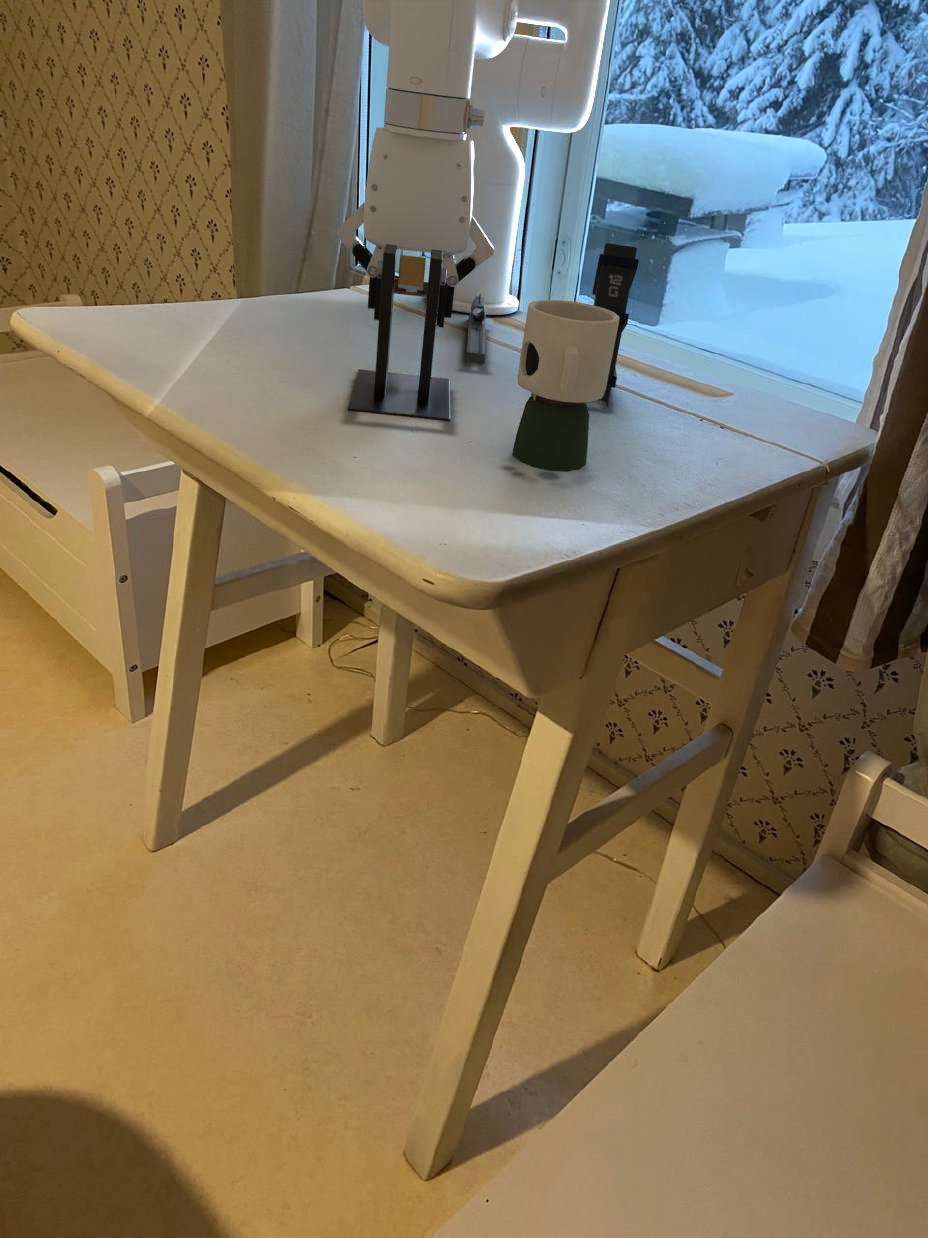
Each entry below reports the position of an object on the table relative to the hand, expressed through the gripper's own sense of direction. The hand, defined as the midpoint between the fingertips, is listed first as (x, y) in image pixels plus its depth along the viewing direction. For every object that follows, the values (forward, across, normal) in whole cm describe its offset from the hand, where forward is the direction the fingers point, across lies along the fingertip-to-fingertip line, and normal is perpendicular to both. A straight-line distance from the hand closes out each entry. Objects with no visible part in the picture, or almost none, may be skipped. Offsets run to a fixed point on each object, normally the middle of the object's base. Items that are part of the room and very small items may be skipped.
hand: (409, 318), depth 93 cm
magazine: (+6, -20, -2) cm, 21 cm away
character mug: (+6, -13, +22) cm, 26 cm away
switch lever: (-4, 0, +6) cm, 7 cm away
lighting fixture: (+6, -8, -13) cm, 16 cm away
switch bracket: (+6, 0, +10) cm, 12 cm away
